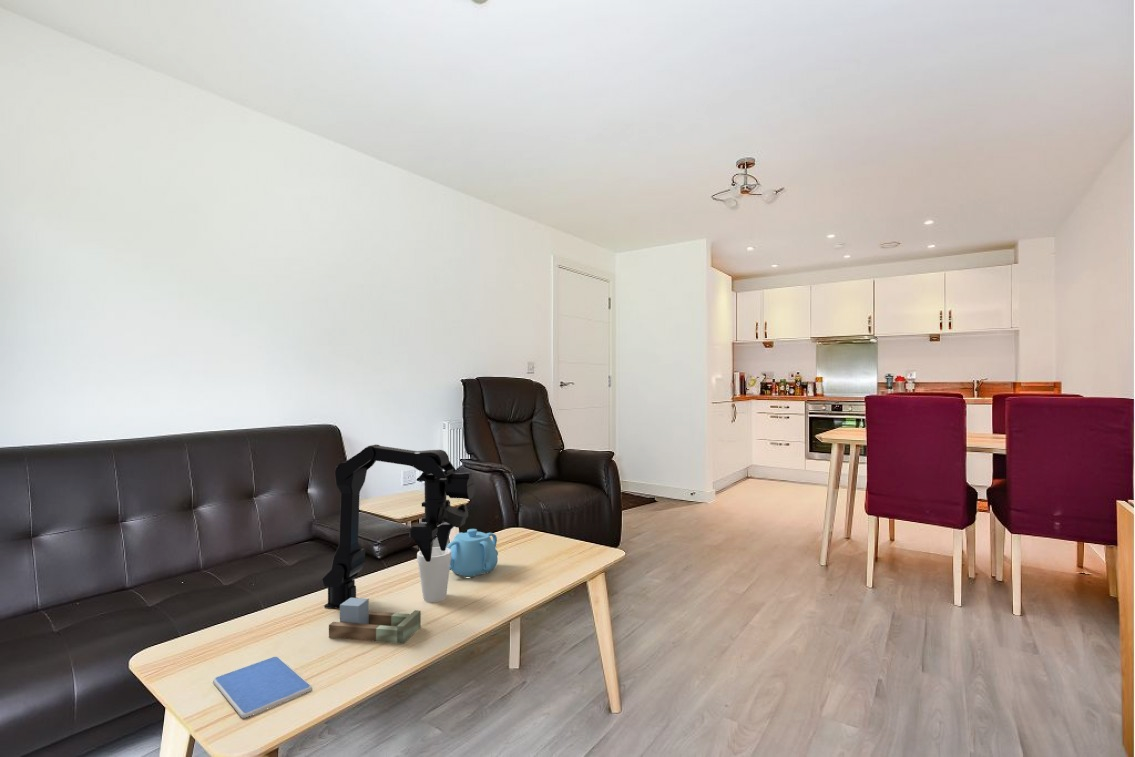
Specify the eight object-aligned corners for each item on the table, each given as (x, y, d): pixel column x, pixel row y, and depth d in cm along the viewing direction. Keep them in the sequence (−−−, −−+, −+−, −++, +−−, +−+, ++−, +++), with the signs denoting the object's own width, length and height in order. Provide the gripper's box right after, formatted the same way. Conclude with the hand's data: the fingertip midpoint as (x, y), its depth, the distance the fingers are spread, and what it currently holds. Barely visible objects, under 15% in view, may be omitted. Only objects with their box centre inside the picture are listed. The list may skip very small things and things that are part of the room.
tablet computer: (211, 683, 108) (211, 677, 108) (277, 659, 117) (277, 653, 117) (242, 723, 95) (242, 715, 95) (313, 692, 104) (313, 685, 104)
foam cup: (415, 594, 152) (415, 549, 152) (447, 589, 155) (447, 545, 156) (420, 607, 143) (419, 559, 143) (454, 601, 147) (453, 554, 147)
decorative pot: (438, 579, 164) (438, 536, 164) (457, 562, 180) (457, 522, 180) (488, 582, 161) (488, 538, 161) (503, 564, 177) (503, 524, 177)
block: (339, 633, 128) (339, 604, 128) (350, 625, 132) (350, 597, 132) (358, 635, 127) (358, 606, 127) (368, 626, 131) (368, 598, 132)
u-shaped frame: (328, 637, 126) (328, 620, 126) (350, 621, 135) (350, 605, 135) (403, 643, 123) (403, 626, 123) (420, 626, 131) (420, 610, 131)
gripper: (449, 506, 130) (449, 569, 130) (476, 491, 149) (476, 546, 148) (408, 504, 133) (408, 567, 132) (439, 490, 151) (440, 545, 151)
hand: (435, 555), depth 141 cm, fingers open, 9 cm apart
